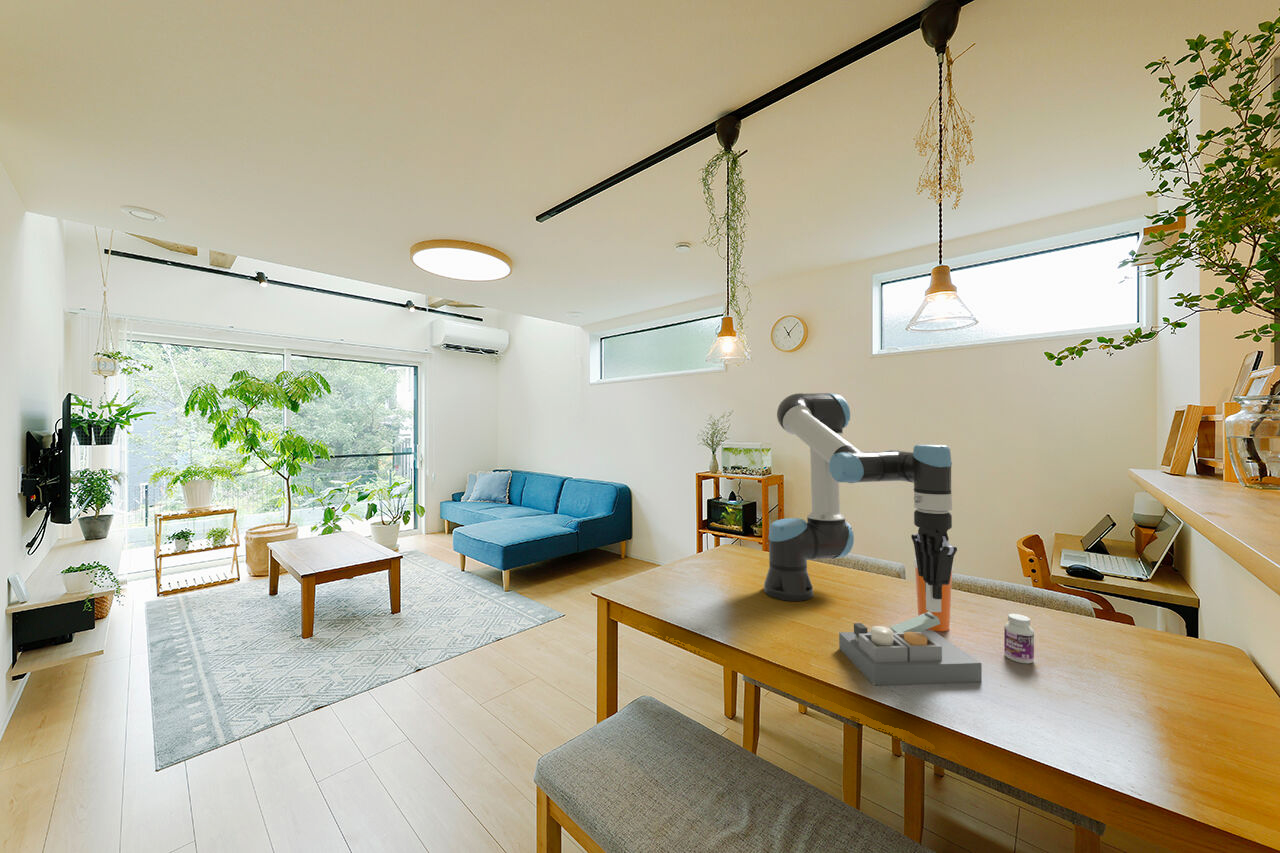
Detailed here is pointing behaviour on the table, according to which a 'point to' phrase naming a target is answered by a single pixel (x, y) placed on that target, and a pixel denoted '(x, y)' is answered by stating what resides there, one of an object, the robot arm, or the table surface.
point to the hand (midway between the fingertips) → (933, 610)
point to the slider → (859, 629)
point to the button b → (915, 638)
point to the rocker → (917, 623)
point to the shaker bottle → (945, 601)
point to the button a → (882, 636)
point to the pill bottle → (1019, 639)
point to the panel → (910, 660)
